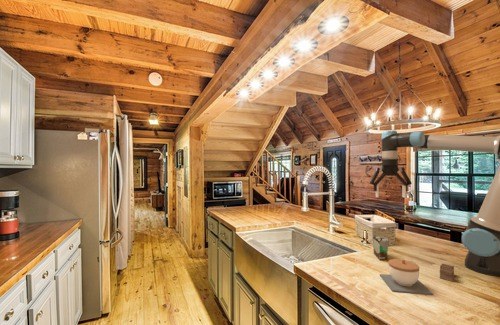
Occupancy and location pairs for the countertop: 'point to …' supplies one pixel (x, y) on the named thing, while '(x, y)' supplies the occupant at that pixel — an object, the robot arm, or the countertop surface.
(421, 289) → the slate mat
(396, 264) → the lidded jar
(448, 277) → the walnut block
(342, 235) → the countertop surface
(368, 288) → the countertop surface
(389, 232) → the storage basket
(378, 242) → the food container
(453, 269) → the walnut block
